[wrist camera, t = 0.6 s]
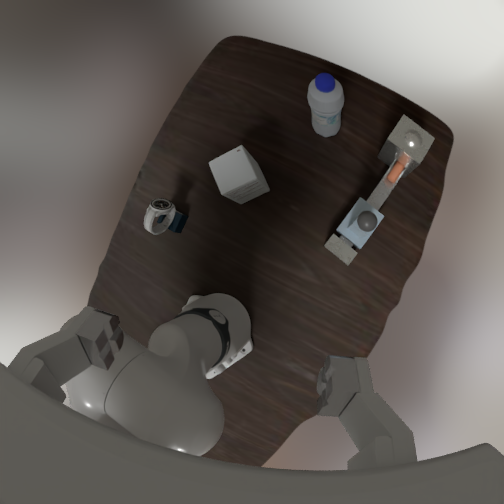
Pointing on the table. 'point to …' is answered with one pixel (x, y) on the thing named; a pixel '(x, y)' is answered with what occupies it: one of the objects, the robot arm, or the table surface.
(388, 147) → the grey slide rail
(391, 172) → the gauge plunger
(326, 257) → the table surface
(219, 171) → the supplement box
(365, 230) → the ball-topped pillar
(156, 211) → the watch
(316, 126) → the bottle
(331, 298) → the table surface
